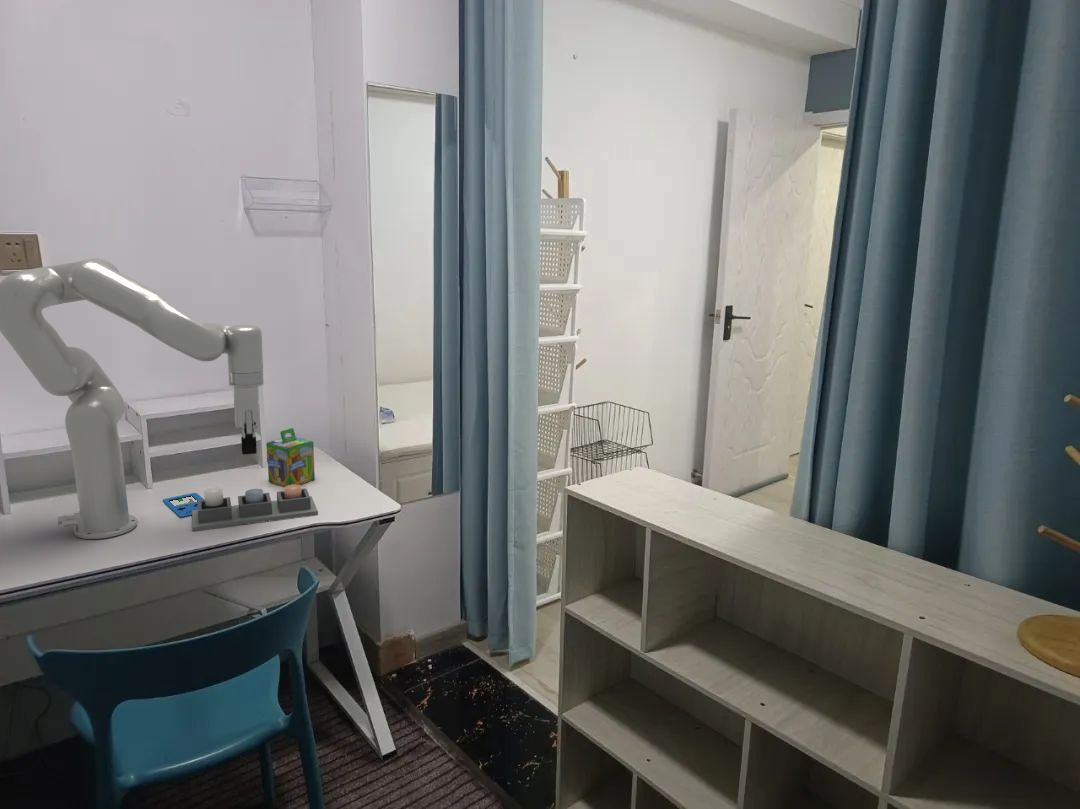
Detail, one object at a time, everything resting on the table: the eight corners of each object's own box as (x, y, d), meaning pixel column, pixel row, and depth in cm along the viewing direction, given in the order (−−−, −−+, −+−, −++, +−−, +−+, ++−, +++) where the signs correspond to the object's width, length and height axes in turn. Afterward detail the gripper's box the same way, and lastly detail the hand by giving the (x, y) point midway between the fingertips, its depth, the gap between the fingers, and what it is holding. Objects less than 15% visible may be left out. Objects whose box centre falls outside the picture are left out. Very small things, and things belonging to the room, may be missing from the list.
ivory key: (205, 507, 170) (204, 494, 169) (204, 501, 173) (203, 488, 172) (223, 505, 171) (222, 492, 171) (223, 499, 175) (222, 486, 174)
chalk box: (290, 489, 195) (287, 436, 191) (267, 482, 199) (264, 431, 196) (316, 479, 203) (314, 429, 199) (293, 473, 207) (291, 424, 204)
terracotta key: (285, 502, 177) (285, 490, 177) (284, 497, 181) (283, 485, 180) (302, 500, 179) (302, 488, 178) (300, 495, 183) (300, 483, 182)
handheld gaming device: (180, 515, 173) (161, 498, 184) (180, 520, 173) (162, 502, 184) (215, 507, 179) (195, 491, 189) (216, 512, 179) (196, 495, 189)
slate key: (246, 507, 174) (245, 495, 173) (245, 502, 177) (244, 489, 176) (264, 505, 175) (263, 493, 175) (263, 500, 179) (262, 487, 178)
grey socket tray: (192, 531, 166) (191, 515, 165) (192, 514, 176) (191, 498, 175) (317, 514, 178) (317, 499, 177) (311, 499, 188) (310, 485, 187)
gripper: (227, 372, 174) (231, 445, 178) (230, 385, 161) (233, 463, 165) (260, 371, 177) (263, 443, 181) (265, 384, 164) (268, 461, 168)
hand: (249, 452), depth 173 cm, fingers closed
